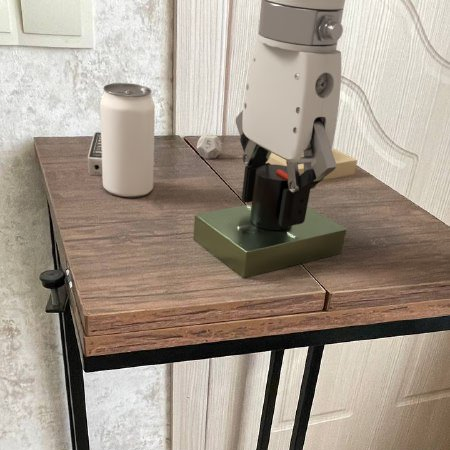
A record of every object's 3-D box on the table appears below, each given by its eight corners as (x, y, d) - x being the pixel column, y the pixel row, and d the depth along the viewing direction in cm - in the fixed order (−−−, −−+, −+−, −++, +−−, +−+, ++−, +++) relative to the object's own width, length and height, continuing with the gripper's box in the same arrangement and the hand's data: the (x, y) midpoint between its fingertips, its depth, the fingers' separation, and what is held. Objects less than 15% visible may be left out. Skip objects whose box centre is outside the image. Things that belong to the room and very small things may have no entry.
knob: (241, 215, 71) (247, 164, 67) (276, 210, 73) (283, 159, 69) (265, 233, 68) (273, 180, 64) (300, 226, 70) (310, 174, 66)
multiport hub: (125, 149, 93) (124, 133, 92) (121, 177, 85) (121, 159, 83) (94, 147, 92) (94, 131, 91) (88, 175, 84) (87, 157, 83)
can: (162, 187, 83) (165, 89, 75) (135, 202, 78) (135, 100, 71) (121, 175, 85) (120, 79, 77) (92, 189, 80) (88, 88, 73)
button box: (311, 153, 100) (315, 126, 97) (354, 174, 94) (360, 147, 91) (250, 161, 94) (253, 134, 91) (292, 185, 88) (296, 156, 85)
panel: (287, 219, 79) (291, 195, 77) (341, 253, 72) (347, 227, 70) (193, 239, 72) (194, 212, 70) (243, 278, 66) (246, 250, 64)
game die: (222, 160, 93) (224, 140, 91) (198, 160, 92) (199, 139, 90) (217, 152, 96) (219, 132, 94) (193, 152, 95) (195, 131, 93)
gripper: (394, 46, 55) (349, 238, 66) (275, 9, 65) (254, 180, 77) (329, 48, 51) (293, 251, 62) (215, 8, 62) (202, 188, 73)
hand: (272, 210), depth 69 cm, fingers open, 6 cm apart
